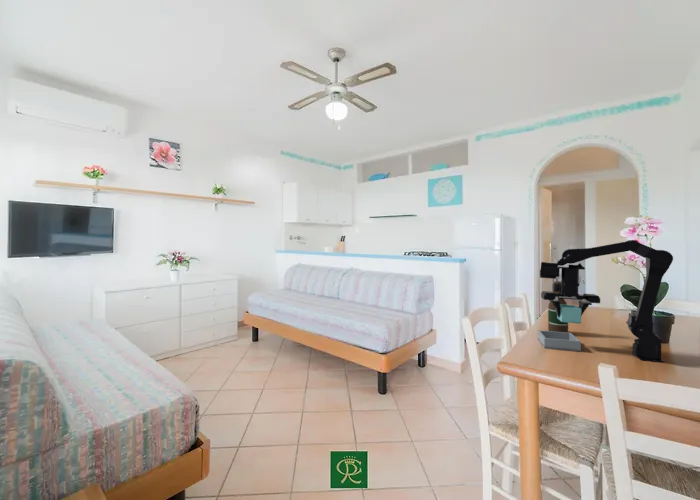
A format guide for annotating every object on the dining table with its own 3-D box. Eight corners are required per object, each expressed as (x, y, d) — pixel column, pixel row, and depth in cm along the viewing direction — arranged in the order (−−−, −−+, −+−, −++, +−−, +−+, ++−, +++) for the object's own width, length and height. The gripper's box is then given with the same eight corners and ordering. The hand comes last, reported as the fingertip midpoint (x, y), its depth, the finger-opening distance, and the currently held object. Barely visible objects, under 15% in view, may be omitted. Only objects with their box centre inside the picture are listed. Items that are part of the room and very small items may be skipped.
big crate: (570, 342, 126) (570, 332, 126) (580, 351, 115) (580, 341, 115) (537, 339, 131) (537, 330, 131) (544, 348, 120) (544, 338, 119)
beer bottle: (544, 331, 142) (544, 281, 142) (556, 329, 145) (556, 280, 144) (560, 336, 135) (560, 283, 134) (572, 334, 137) (572, 282, 137)
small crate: (575, 319, 123) (575, 305, 123) (580, 323, 117) (581, 308, 117) (557, 318, 125) (557, 304, 125) (561, 322, 120) (562, 307, 119)
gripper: (590, 278, 125) (589, 315, 125) (538, 276, 132) (537, 311, 132) (601, 282, 114) (600, 322, 115) (544, 279, 121) (543, 317, 122)
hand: (568, 317), depth 121 cm, fingers closed on small crate, 6 cm apart
